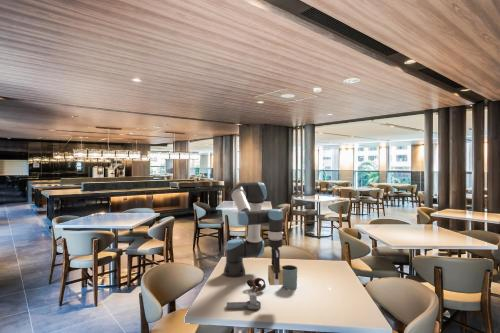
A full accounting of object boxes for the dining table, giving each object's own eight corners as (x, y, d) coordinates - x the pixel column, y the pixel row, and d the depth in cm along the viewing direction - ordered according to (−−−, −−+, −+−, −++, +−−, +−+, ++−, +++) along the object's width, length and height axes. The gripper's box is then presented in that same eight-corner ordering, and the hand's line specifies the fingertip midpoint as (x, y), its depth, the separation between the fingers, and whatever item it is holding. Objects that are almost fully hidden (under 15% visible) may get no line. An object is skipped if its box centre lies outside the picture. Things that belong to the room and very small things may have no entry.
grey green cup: (297, 290, 178) (297, 270, 178) (280, 289, 180) (280, 269, 180) (297, 284, 188) (297, 265, 188) (281, 283, 190) (281, 264, 190)
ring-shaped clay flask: (265, 287, 184) (268, 278, 180) (262, 300, 176) (264, 291, 172) (247, 281, 186) (249, 272, 182) (243, 293, 178) (244, 284, 174)
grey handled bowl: (226, 304, 160) (226, 291, 160) (260, 303, 161) (260, 290, 161) (226, 311, 152) (226, 297, 152) (261, 310, 153) (261, 296, 153)
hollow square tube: (268, 280, 161) (268, 265, 161) (280, 279, 162) (280, 265, 162) (269, 285, 154) (269, 269, 154) (283, 284, 155) (283, 269, 155)
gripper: (285, 243, 148) (285, 289, 148) (279, 234, 168) (279, 274, 168) (270, 243, 148) (270, 289, 148) (266, 234, 168) (266, 275, 168)
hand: (275, 281), depth 158 cm, fingers closed on hollow square tube, 7 cm apart
